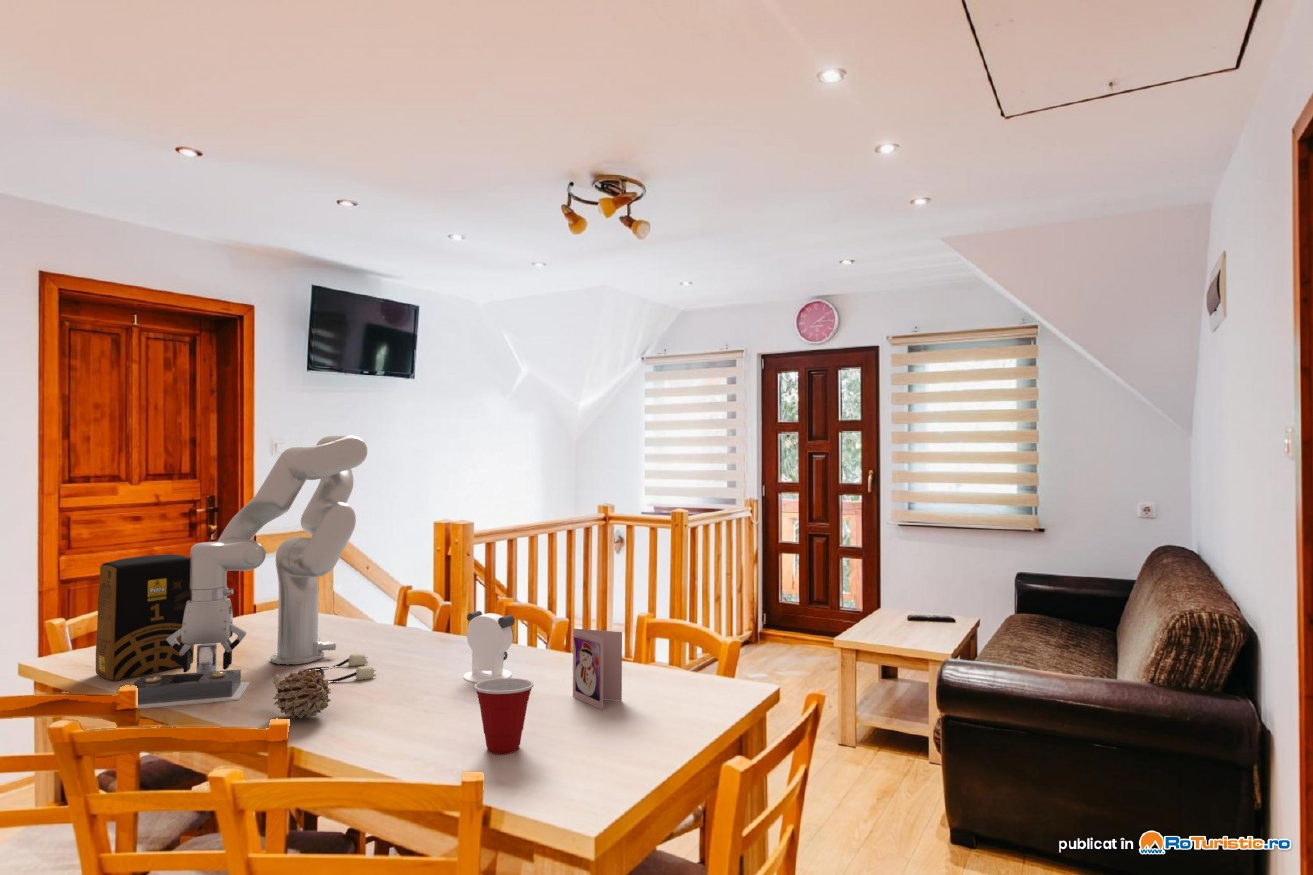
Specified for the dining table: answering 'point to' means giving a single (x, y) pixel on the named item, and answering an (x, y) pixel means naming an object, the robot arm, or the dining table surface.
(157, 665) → the black product box
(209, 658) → the pin
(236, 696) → the mat
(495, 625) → the panda figurine
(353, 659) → the cable
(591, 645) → the greeting card
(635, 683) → the dining table surface
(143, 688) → the gray slotted block
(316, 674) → the pine cone
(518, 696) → the plastic cup
